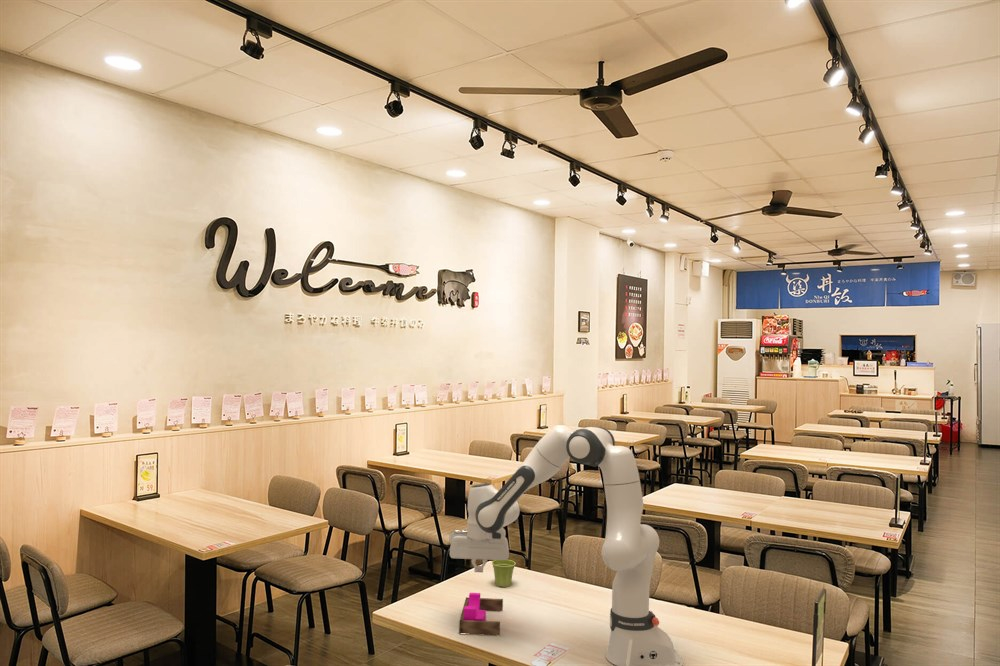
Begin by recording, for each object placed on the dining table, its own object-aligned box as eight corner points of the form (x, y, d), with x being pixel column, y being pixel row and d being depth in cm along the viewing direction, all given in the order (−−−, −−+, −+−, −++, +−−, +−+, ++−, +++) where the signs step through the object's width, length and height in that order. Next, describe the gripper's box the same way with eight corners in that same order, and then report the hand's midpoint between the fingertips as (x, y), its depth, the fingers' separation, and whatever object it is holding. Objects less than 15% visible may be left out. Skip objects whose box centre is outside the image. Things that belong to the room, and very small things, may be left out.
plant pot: (505, 579, 270) (505, 557, 270) (519, 585, 263) (520, 563, 263) (486, 583, 264) (487, 561, 265) (501, 590, 257) (501, 568, 257)
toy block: (482, 633, 218) (482, 609, 218) (463, 631, 219) (464, 608, 219) (487, 615, 233) (487, 593, 233) (469, 614, 234) (469, 592, 234)
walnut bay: (502, 610, 237) (502, 598, 237) (499, 635, 216) (499, 623, 216) (465, 608, 238) (466, 597, 238) (459, 633, 217) (459, 621, 217)
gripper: (448, 532, 225) (447, 573, 225) (508, 534, 224) (507, 576, 224) (450, 527, 232) (449, 567, 231) (509, 529, 231) (508, 570, 230)
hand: (478, 571), depth 228 cm, fingers closed
